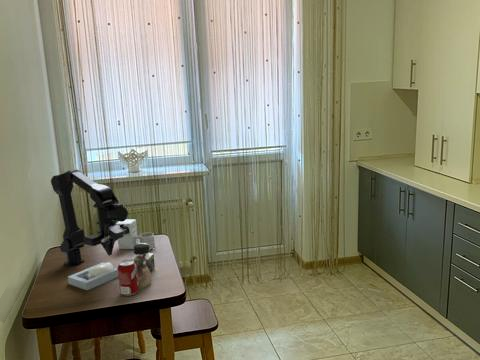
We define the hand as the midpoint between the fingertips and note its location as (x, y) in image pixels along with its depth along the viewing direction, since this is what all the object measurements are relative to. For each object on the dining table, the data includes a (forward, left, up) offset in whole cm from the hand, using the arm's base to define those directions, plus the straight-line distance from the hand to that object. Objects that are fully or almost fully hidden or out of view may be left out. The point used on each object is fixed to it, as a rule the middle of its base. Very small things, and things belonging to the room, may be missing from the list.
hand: (109, 255), depth 197 cm
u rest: (0, -7, -8) cm, 11 cm away
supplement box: (-18, +24, -8) cm, 32 cm away
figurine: (+20, -1, -8) cm, 22 cm away
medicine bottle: (+12, +7, -8) cm, 16 cm away
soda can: (+22, -9, -8) cm, 25 cm away
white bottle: (0, -1, -5) cm, 5 cm away
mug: (-10, +27, -8) cm, 29 cm away
